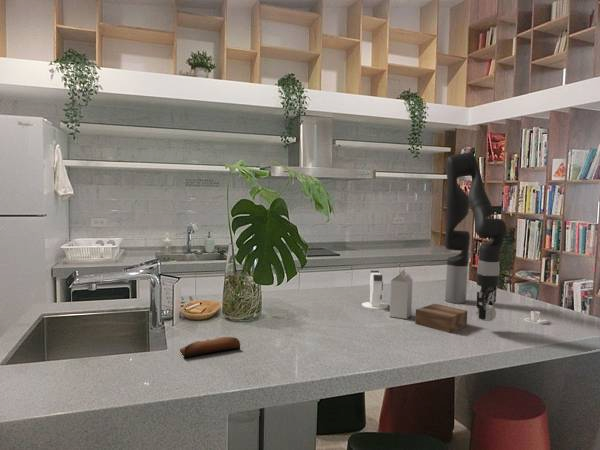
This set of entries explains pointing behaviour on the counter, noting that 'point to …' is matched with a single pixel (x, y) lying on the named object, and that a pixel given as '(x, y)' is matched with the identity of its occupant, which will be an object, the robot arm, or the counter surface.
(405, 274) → the milk carton
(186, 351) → the sunglasses case
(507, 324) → the counter surface
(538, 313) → the teacup and saucer
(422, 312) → the walnut block
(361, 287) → the counter surface
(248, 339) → the counter surface
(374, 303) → the white device on stand
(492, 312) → the die
